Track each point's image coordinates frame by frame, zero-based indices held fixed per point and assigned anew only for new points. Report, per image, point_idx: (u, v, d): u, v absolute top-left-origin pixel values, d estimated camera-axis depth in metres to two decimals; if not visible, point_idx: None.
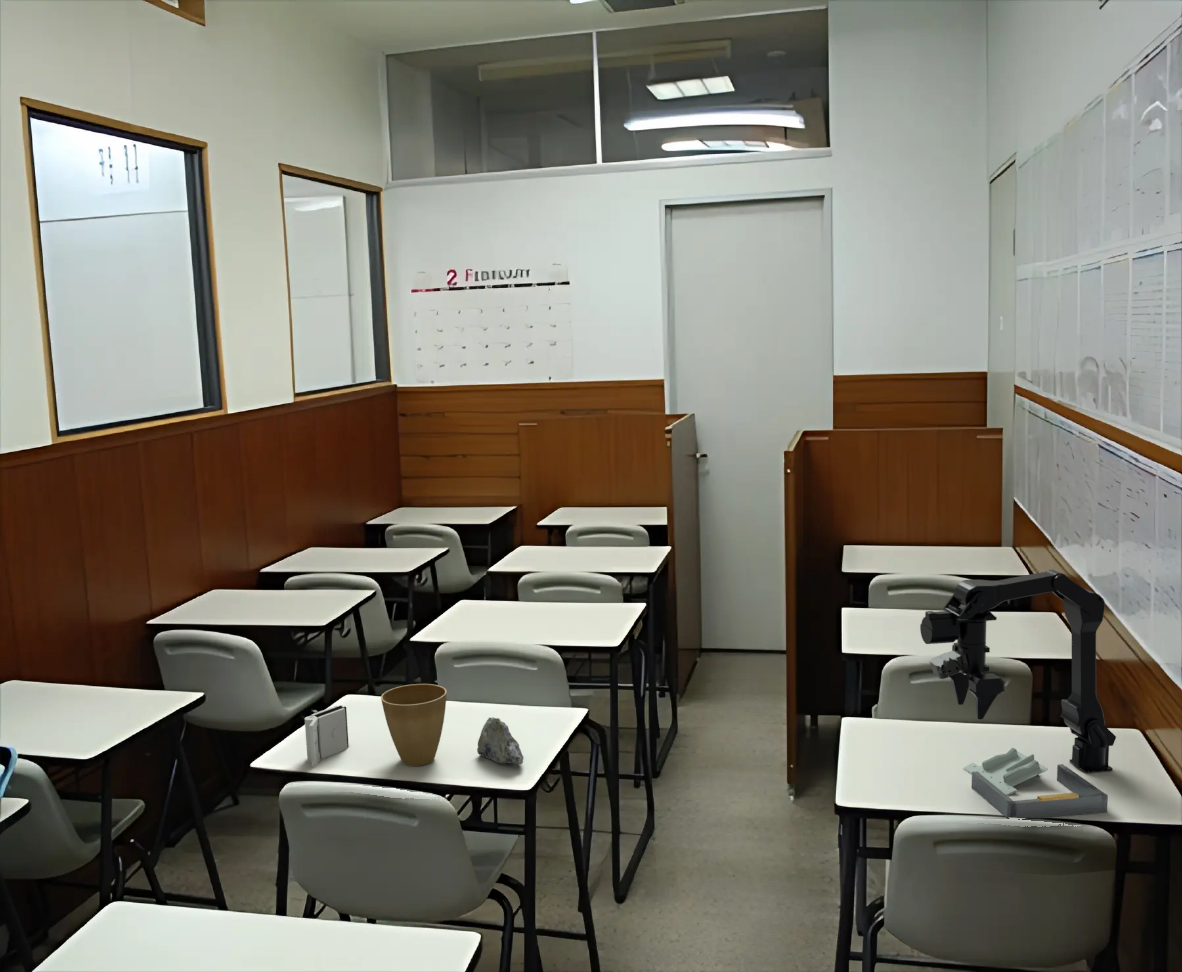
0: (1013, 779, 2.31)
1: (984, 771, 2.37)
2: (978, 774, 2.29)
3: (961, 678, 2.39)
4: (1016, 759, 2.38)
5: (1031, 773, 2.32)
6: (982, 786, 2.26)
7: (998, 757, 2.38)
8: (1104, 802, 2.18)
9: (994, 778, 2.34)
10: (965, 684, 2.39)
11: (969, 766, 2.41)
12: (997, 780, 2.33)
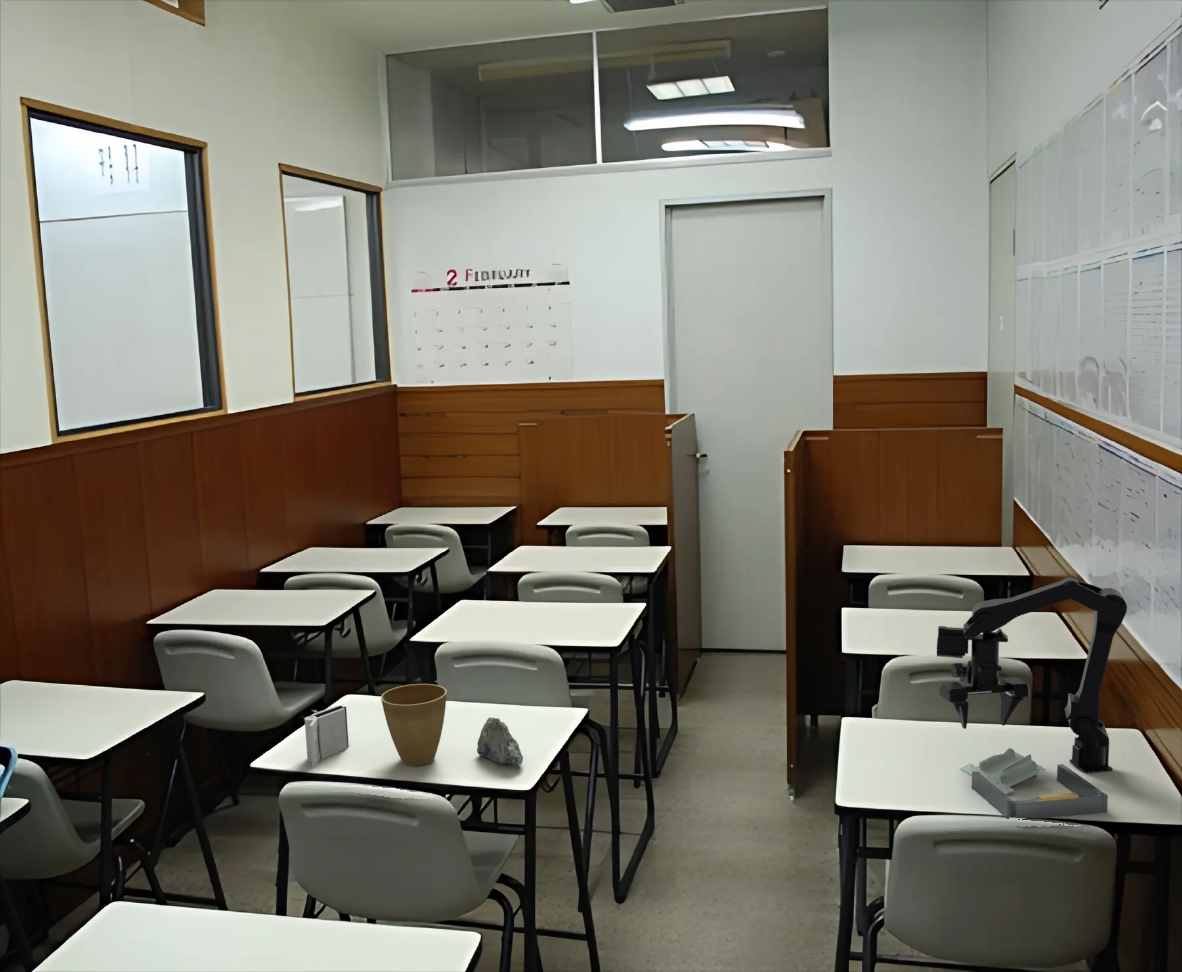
0: (1010, 779, 2.31)
1: (981, 771, 2.37)
2: (978, 774, 2.29)
3: (1005, 700, 2.46)
4: (1013, 759, 2.38)
5: (1028, 773, 2.31)
6: (982, 786, 2.26)
7: (995, 757, 2.38)
8: (1104, 802, 2.18)
9: (991, 778, 2.33)
10: (1007, 708, 2.45)
11: (966, 766, 2.41)
12: (994, 780, 2.32)
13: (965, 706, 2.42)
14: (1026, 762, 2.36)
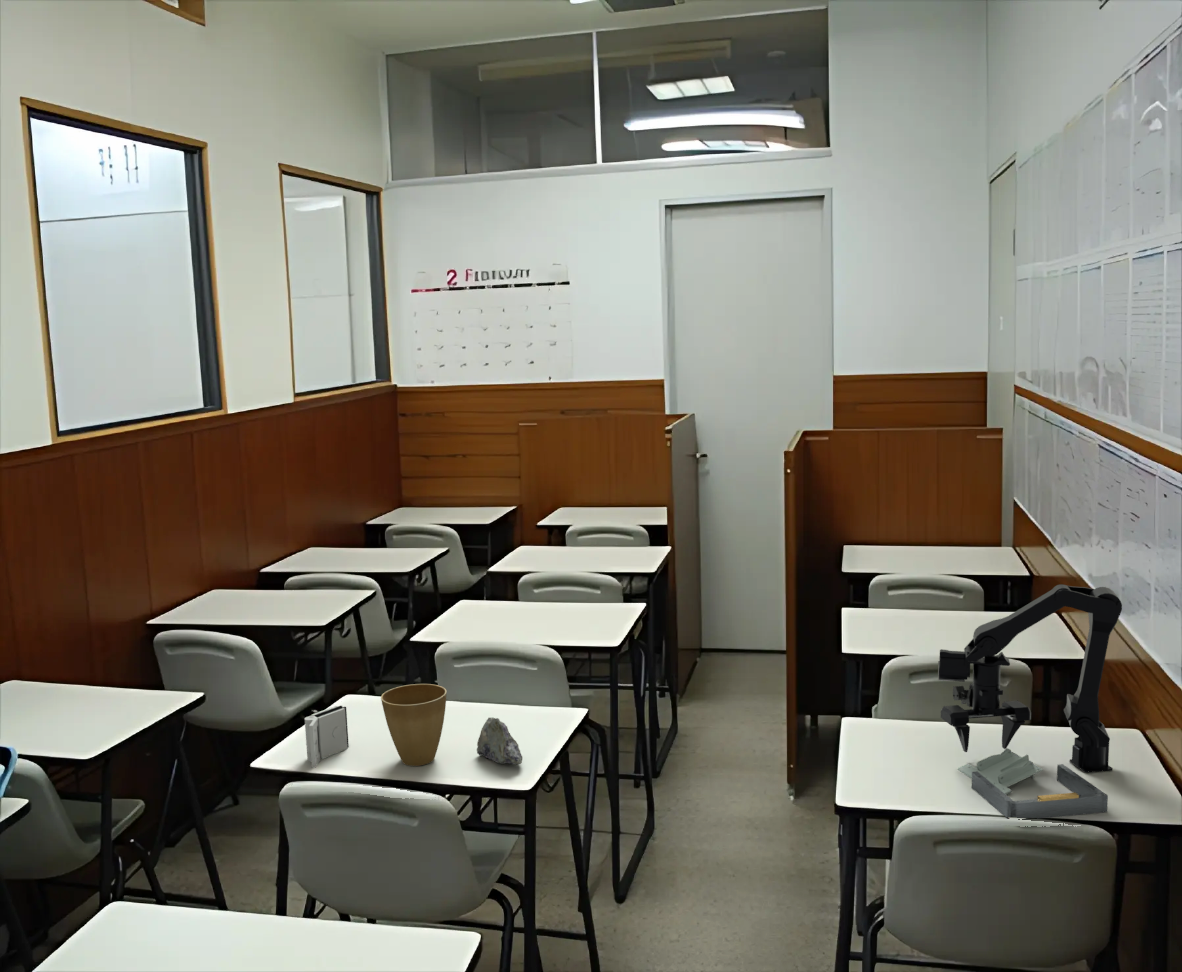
0: (1008, 780, 2.31)
1: (979, 772, 2.37)
2: (978, 774, 2.29)
3: (1007, 724, 2.46)
4: (1011, 760, 2.38)
5: (1025, 774, 2.31)
6: (982, 786, 2.26)
7: (993, 758, 2.38)
8: (1104, 802, 2.18)
9: (989, 779, 2.33)
10: (1008, 731, 2.45)
11: (964, 767, 2.41)
12: (992, 781, 2.32)
13: (967, 730, 2.42)
14: (1023, 762, 2.36)
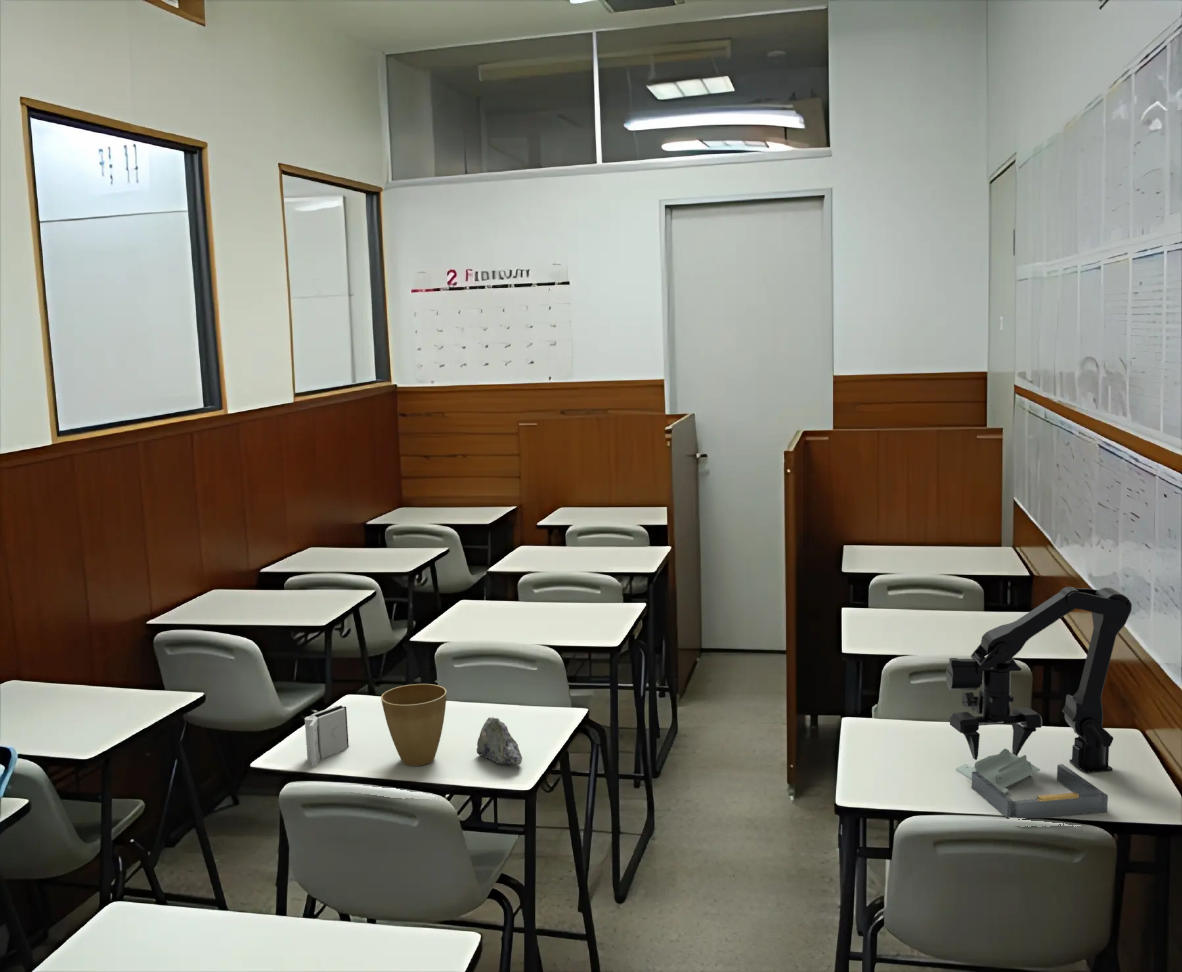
0: (1005, 780, 2.31)
1: None
2: (978, 774, 2.29)
3: (1017, 731, 2.41)
4: (1008, 760, 2.38)
5: (1023, 774, 2.31)
6: (982, 786, 2.26)
7: (990, 758, 2.38)
8: (1104, 802, 2.18)
9: None
10: (1019, 739, 2.40)
11: (961, 767, 2.40)
12: None
13: (976, 737, 2.37)
14: (1021, 762, 2.35)
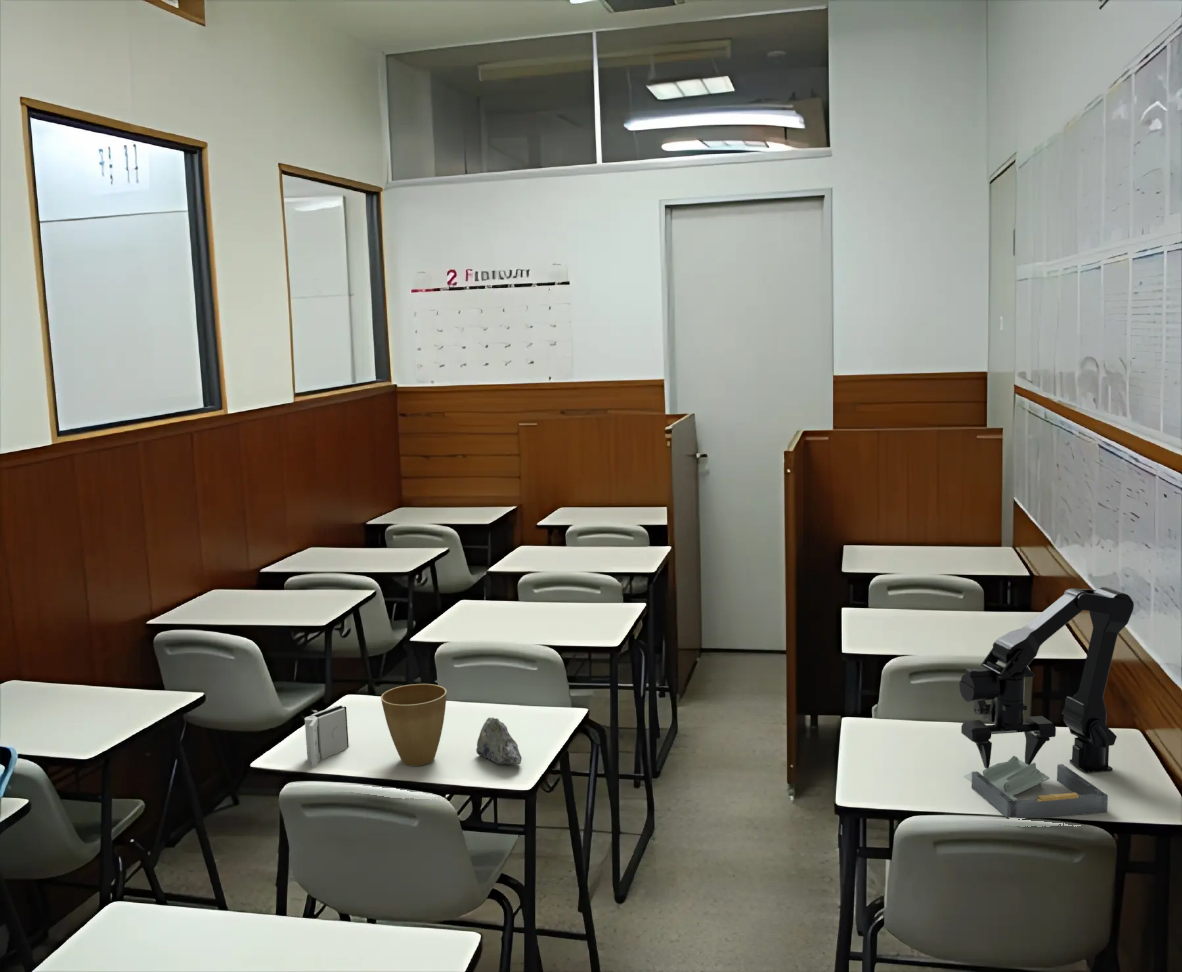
0: (1014, 788, 2.27)
1: None
2: (978, 774, 2.29)
3: (1030, 740, 2.35)
4: (1017, 767, 2.34)
5: (1032, 782, 2.27)
6: (982, 786, 2.26)
7: (999, 765, 2.34)
8: (1104, 802, 2.18)
9: None
10: (1032, 748, 2.35)
11: (969, 774, 2.37)
12: None
13: (988, 746, 2.32)
14: (1030, 770, 2.32)
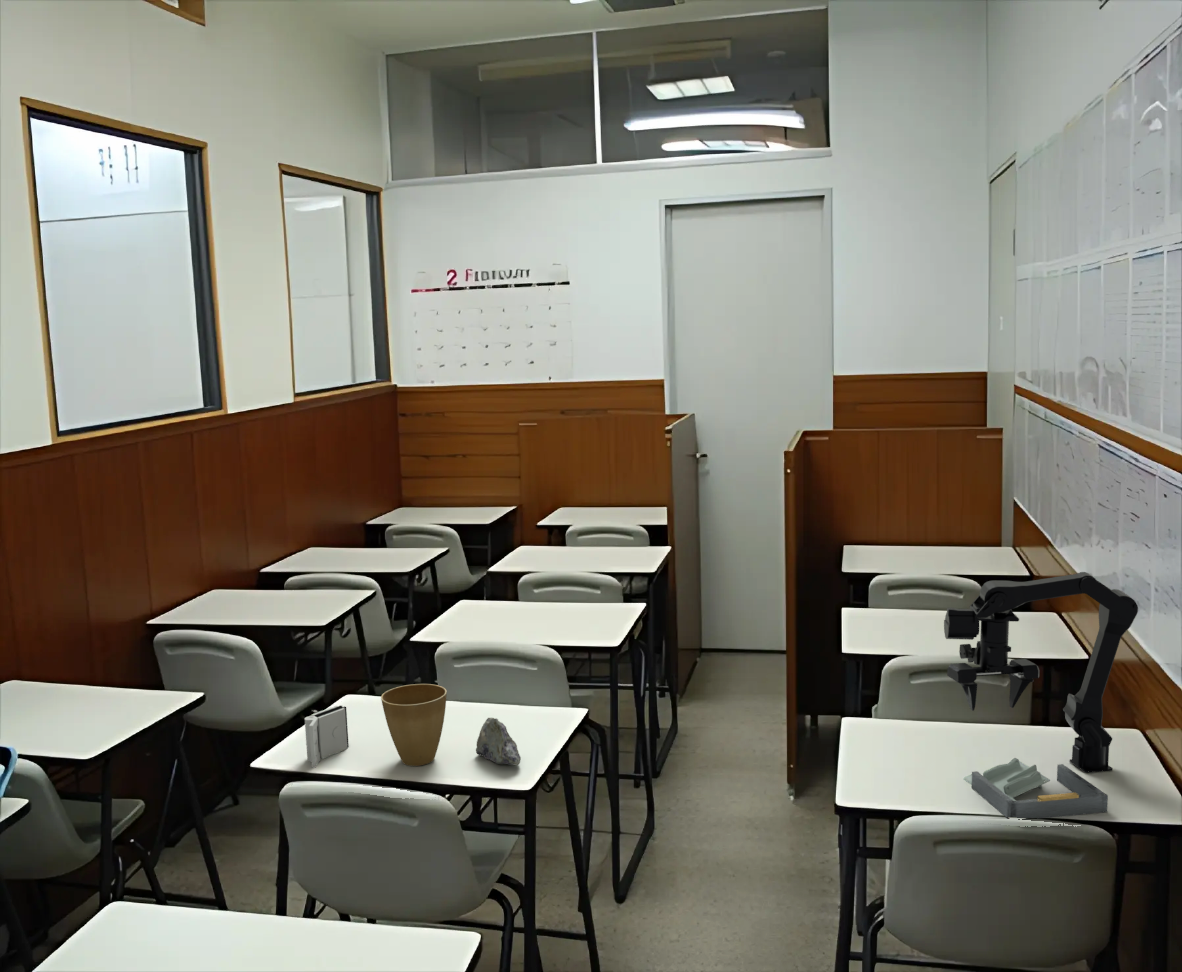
0: (1014, 790, 2.26)
1: None
2: (978, 774, 2.29)
3: (1015, 682, 2.41)
4: (1018, 769, 2.33)
5: (1032, 784, 2.26)
6: (982, 786, 2.26)
7: (999, 767, 2.33)
8: (1104, 802, 2.18)
9: None
10: (1016, 690, 2.40)
11: (970, 776, 2.35)
12: None
13: (974, 687, 2.37)
14: (1031, 772, 2.30)
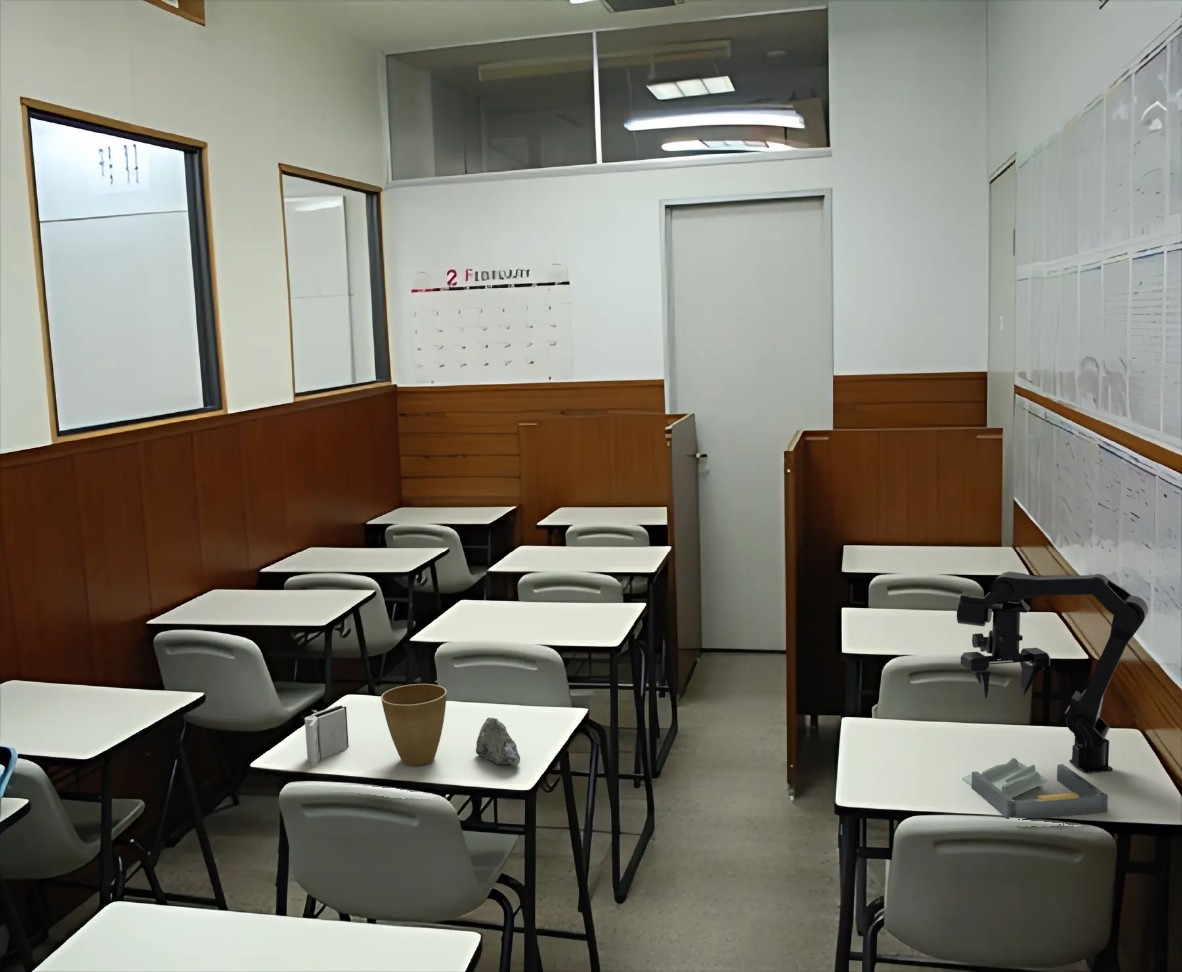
0: (1012, 790, 2.26)
1: None
2: (978, 774, 2.29)
3: (1026, 670, 2.48)
4: (1016, 770, 2.32)
5: (1031, 784, 2.26)
6: (982, 786, 2.26)
7: (998, 767, 2.33)
8: (1104, 802, 2.18)
9: None
10: (1028, 677, 2.47)
11: (968, 776, 2.35)
12: None
13: (987, 675, 2.44)
14: (1029, 773, 2.30)
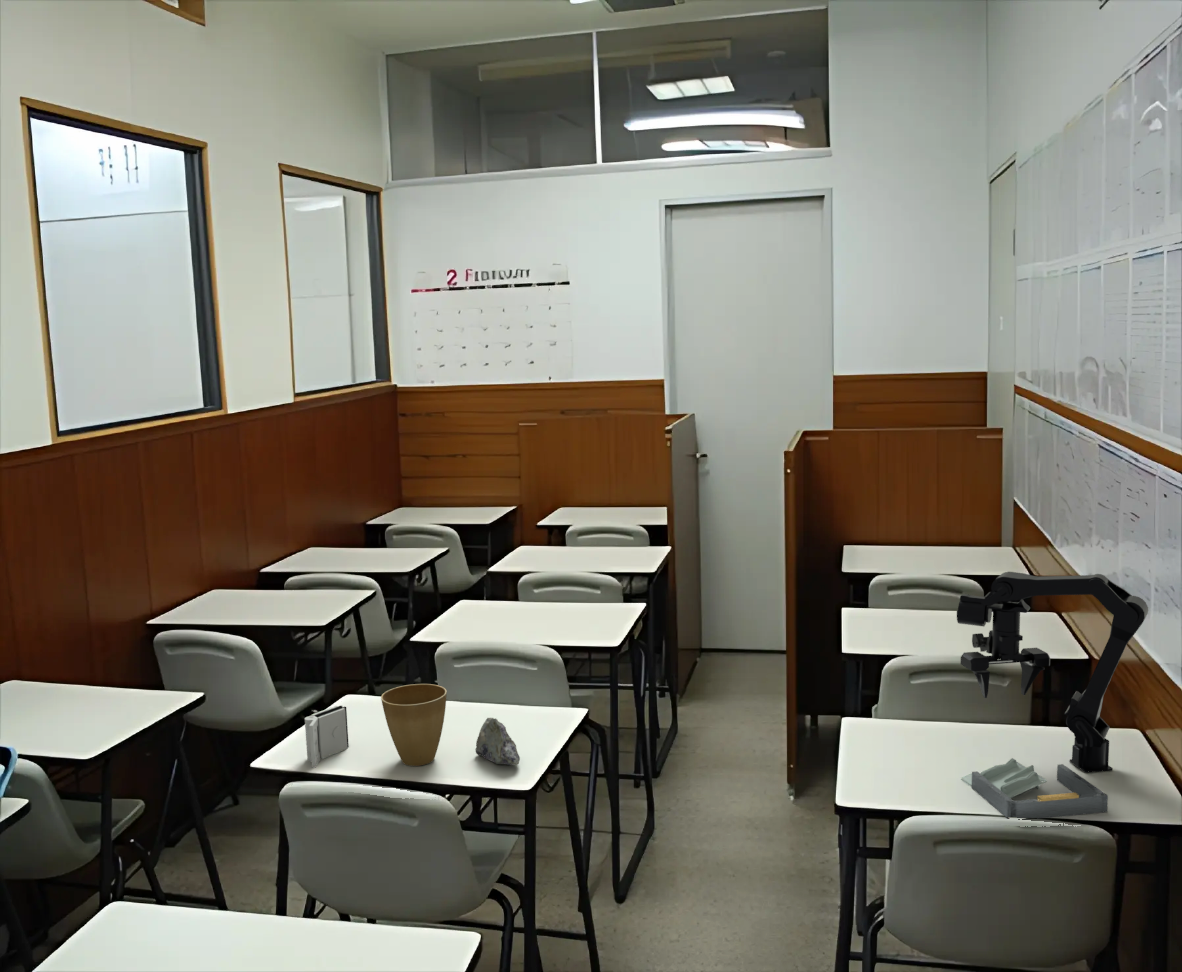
0: (1011, 790, 2.25)
1: None
2: (978, 774, 2.29)
3: (1026, 670, 2.48)
4: (1015, 770, 2.32)
5: (1030, 785, 2.26)
6: (982, 786, 2.26)
7: (997, 768, 2.33)
8: (1104, 802, 2.18)
9: None
10: (1028, 677, 2.47)
11: (967, 776, 2.35)
12: None
13: (987, 675, 2.44)
14: (1028, 773, 2.30)
